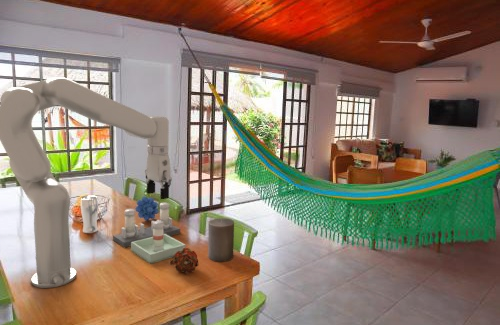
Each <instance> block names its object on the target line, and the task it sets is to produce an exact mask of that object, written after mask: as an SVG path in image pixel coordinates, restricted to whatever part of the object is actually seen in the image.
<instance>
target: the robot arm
mask: <svg viewBox="0 0 500 325" xmlns="http://www.w3.org/2000/svg"><path fill="white" fill-rule="evenodd" d="M55 106H60V107H62V108H64V109H66V110H68V111H71V112H74V113H76V114H78V115H81V116H83V117H84V118H85V117H86V118H87V119H90V120H92V121H94V122H96V123H100V124H102V125H107V126H112V127H115V128H118V129H119V130H120V129H121V130H122V131H124V132H125V133H126V134H127V135H129V136H130V137H134V138H139V139H141V140H142V139H144V140H145V139H146V140H147V141H146V145H147V146H146V147H147V149H146V151H147V152H146V153H147V154H146V155H147V158H146V159H147V160H146V169H145V170H144V173H145V179H146V181H145V182H146V194H148V195H149V194H155V193H156V183H159V184H160V187H161V188H160V194H159V195H160V196H159V198H160V200H166V199H169V197H170V187H171V185H172V179H173V178H172V175H171V161H170V159H171V158H170V155H169V133H170V132H169V131H170V130H169V124H170V123H169V122H170V121H169V118H168V117H165V116H159V115H158V116H153V115H152V116H148V115H146V114H144V113H142V112H140V111H138V110H136V109H134V108H132V107H129V106H127V105H125V104H122V103H120V102H118V101H116V100H113V99H111V98H109V97H106V96H105V95H102V94H101V93H98V92H96V91H94V90H92V89H90V88H88V87H86V86H84V85H82V84H79V83H78V82H76V81H73V80H72V79H70V78H66V77H52V78H48V79H44V80H40V81H35V82H33V83H27V84H24V85H19V86H15V87H10V88H8V89H6V90H4V92H3V93H2V94H1V95H0V143H1V144H2V146H3V149H4V151H5V153H6V154H7V156H8V158H9V161H8V162H9V167H10V169H11V171H12V174H13V175H14V177H15V178H16V180H17V182H18V184H19V185H20V188H21V189H22V190H23V192H24V194H25V195H26V197H27V198H28V200H29V202H31V203H32V204H33V207H34V212H33V214H34V215H33V232H34V246H35V249H34V250H35V268H36V273H35V274H34V275H33V276H32V277H31V278H30V279H31V284H32V286H34V287H36V288H39V289H40V288H41V289H51V288H57V287H62V286H64V285H67V284H68V283H71V282H72V281H73V280H75V279H76V277H77V271H76V269H75V268H72V267H71V247H70V246H71V240H70V208H71V207H70V205H71V197H70V194H69V191H68V189H67V188H66V187H65V186H64V185H63V184H62V183H60V182H59V181H57V179H56V178H55V177H54V174H53V173H52V171H51V170H52V169H51V168H52V164H51V161H50V159H49V157H48V156H47V154H46V153H45V151H44V150H43V147H42V145H41V144H40V142H39V140H38V138H37V136H36V134H35V132H34V129H33V125H32V124H33V119H34V117H35V115H36V114H37V113H38V112H39V111H44V110H47V109H51V108H52V107H53V108H54V107H55Z"/></svg>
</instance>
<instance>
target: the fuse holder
mask: <svg viewBox="0 0 500 325" xmlns="http://www.w3.org/2000/svg"><path fill="white" fill-rule="evenodd" d="M154 221H155V220H151V221H150V222H151V224H150V225H151V226H148V227H145V224H144V223H141V222H140V223H139V225H137V224H135V237H133V238H126V229H125V226H123V227H121V233H117V234H113V235H112V241H114V242H115V243H116V244H118V245H120V246H121V247H122V248H127V247H131V242H134V241H138V240H142V239H146V238H150V237H153V222H154ZM156 221H160V219H156ZM178 233H179V234H181V228H180V227H178V226H176V225H173V218H171V217H170V216H169V229H165V230H163V234H166V235H168V236H170V237H172V236H175V235H178ZM174 234H175V235H174Z"/></svg>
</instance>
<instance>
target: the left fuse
mask: <svg viewBox="0 0 500 325" xmlns="http://www.w3.org/2000/svg"><path fill="white" fill-rule="evenodd" d="M135 225H136V210H135V209H134V208H126V209H125V210H124V228H125V229H126V238H133V237H135Z"/></svg>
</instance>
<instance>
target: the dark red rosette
mask: <svg viewBox="0 0 500 325" xmlns="http://www.w3.org/2000/svg"><path fill="white" fill-rule="evenodd" d="M171 259H172V260H171ZM171 259H170V260H169V264H170V265H172V266H175V267H174V268H175V270H176V271H177V272H182V273H184V274H190V273H193V272H194V271H195V270H196V267H199V259H198V254H197V252H195V250H191V249H190V248H189V247H187V248H183V250H182V251H177V252H176V253H175V254H174V257H172V258H171Z"/></svg>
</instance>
